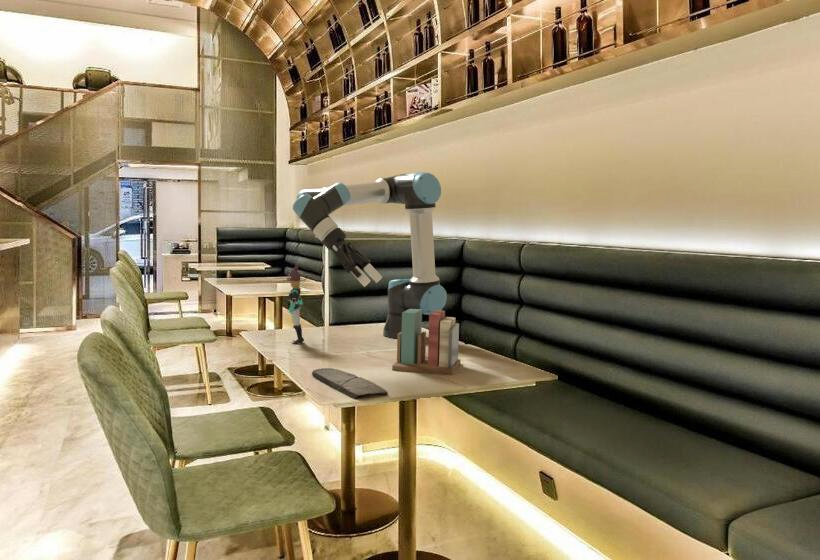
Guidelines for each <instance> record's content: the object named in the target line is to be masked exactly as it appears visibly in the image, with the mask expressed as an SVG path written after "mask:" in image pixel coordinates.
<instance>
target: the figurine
mask: <svg viewBox="0 0 820 560" xmlns="http://www.w3.org/2000/svg"><path fill="white" fill-rule="evenodd" d="M299 265H300V262H299V263H296V264H295V266H294V267H293V269H291V270H290V273H289V274H288V275H287V277H286V279H283V280H282V282H283V283H287V282H289V283H290V287H291V288H292V289H290V290H289V292H288V298H289V299H286V301H288V302H289V304H290V305H289V306H288V307H289V308H288V310H287V312H288V313H289V314H290V317H291V322H292V324H293V326H292V329H294V331H295V333H296V336H297V339H296V340H292V342H291V344H292V345H298V344H303V342H304V341H305V339H304V337H303V328H302V324H301V322H300V319H301V315H300V310H301V309H302V307H301V306H299V305H304V302H303V298H302V297H301V292H302V291H301V290H302V287H300V285H301V282H305V281H307V280H308V279H301V275H300V273H299V271H298V270H299ZM290 275H291V276H290Z"/></svg>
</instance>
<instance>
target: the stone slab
mask: <svg viewBox="0 0 820 560" xmlns="http://www.w3.org/2000/svg"><path fill="white" fill-rule="evenodd" d="M311 375H312V377H313V378H314V379H315V380H317V381H319V382H321V383H322V384H324V385H326V386H328V387H329V388H332V390H335V391H337V392H340V393H342V395H345V396H347V397H349V398H350V399H354V400H356V399H357V398H358V397H361V396H365V395H371V394H380V395H385V396H388V393H389V392H388V391H387V390H386V389H384V388H383V387H381V386H380V385H378V384H377V383H375V382H373V381H370V380H369V379H366V378H364V377H361V376H360V377H359V376H358V375H356V374H354V373H350V372H346V371H343V370H340V369H337V368H330V367H329V368H328V367H325V368H318V369H313V370H312V372H311Z"/></svg>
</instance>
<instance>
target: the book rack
mask: <svg viewBox="0 0 820 560" xmlns="http://www.w3.org/2000/svg"><path fill="white" fill-rule="evenodd" d="M456 320H457V319H456V317H453V316H446V310H435V311H434V312H432V313H430V314H428V341H427V332H426V331H421V334H419V335H418V355H417V362H416V363H415V364H414V365H412V364H401V338H402V331H401V332H400V333H398V334H397V338H396V339H397V341H396V346H397V347H396V362H394V363H393V364H392V369H391V371H398V372H399V371H401V372H413V373H423V374H424V373H426V374H439V375H449V376H452V375H453V374H454V372H456V370H457V369H458V367H460V365H461V358H459V340H460V338H459V335H460V323H458V322H456ZM426 341H427V342H428V346H427V342H426ZM426 347H427V348H426ZM426 349H427V351H428V352H427V356H426Z"/></svg>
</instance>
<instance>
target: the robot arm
mask: <svg viewBox="0 0 820 560" xmlns="http://www.w3.org/2000/svg"><path fill="white" fill-rule="evenodd" d="M441 195H442V187H441V184H440V181H439V180H438V178H437V177H436V176H435V175H434V174H433V173H430V172H423V171H420V172H419V171H418V172H410V173H402V174H396V175H393V176H389V177H383V178H378V179H376V180H375V181H373V182H372V181H371V182H362V183H361V182H360V183H353V184H344V183H342V182H340V181H339V182H336V183H334V184H332V185H330V186H326V187H325V186H324V187H315V188H305V189H302V190H300V191H299V192H298V193H297V196H296V200H295V201H294V202H293V204H292V210H293V211H294V213H295V214H296V215H297V217H298V219H300V220H301V221H302V223H304V224H305V226H306V227H307V228H309V230H310V231H311V232H312V233H313V234H314V238H316V239H318V240H320V242H322V244H323V246H325V247H326V249H327V250H328V251H332V252H333V253H334V255H335V257H336V258H337V259H338V261H339V262H340V264H341V265H342V267H343V268H344V270H345V272H346V273H348V274H349V273H351V274H352V275H353V276H354V278H355V279H357V281H358V282H359V283H360V284H361V285H362V286H363V287H364V288H365V287H366V286H367V285H369V284H370V283H371V279H372V280H373V281H374V283H376V284H378V283H379V282H380V281H381V279H383V276H382V275H381V274H380V272H378V271H377V269H376V268H374V266H373V265H372V264H371V262H372V260H371V259H369V258H368V257H366V256H365V255H364V254H363V253H362V252H360V250H358V249H357V248H356V247H355V246H353V244H352V243H351V242H349V241H348V242H346V241H345V239H346V238H347V234H346V233H345V231H343V230H342V228H340V227H339V226H338V224H337V223H336V222H335V221H334V220H333V218H332V217H331V216H330V215H331V214H333V212H335V211H337V210H338V209H341V207H347V206H355V205H363V204H370V203H379V204H383V205H385V204H397V205H398V204H399V205H404V210H405V211H406V212H407V213H408V214H409V226H410V230H409V231H410V242H411V243H410V244H411V245H410V246H411V259H412V260H411V262H412V263H411V264H412V277H411V278H404V279H403V278H399V279H391V280H390V281H389V282H388V286H387V287H388V288H387V318H386V321H385V324H384V326H383V329H382V330H383V331H382V335H383V336H384V337H386V338H392V339H397V334H398V333H400V332H401V331H402V312H404V311H406V310H408V309H422V315H427V316H429V314H430V313H432V312H434V311H435V310H441V311H443V308H444V307H445V305H446V303H447V300H448V299H447V296H448V294H447V291H446V289H445V288H444V287H443V286H442V285H441V284H440V283H441V281H440V278H439V277H438V275H436V263H435V243H434V241H435V240H434V227H433V226H434V225H433V211H435V209H436V208H437V205H436V203H438V202H439V200H440V197H441ZM355 262H356V263H357V264H358V265H359V266H361V267H362V268H363V270H364V271H365V272H363V271H362V270H361V268H360V267H359V266H358V265H355ZM365 273H366V274H367V275H369V277H370V278H371V279H370V278H369V277H368V276H367V275H366V274H365Z"/></svg>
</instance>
